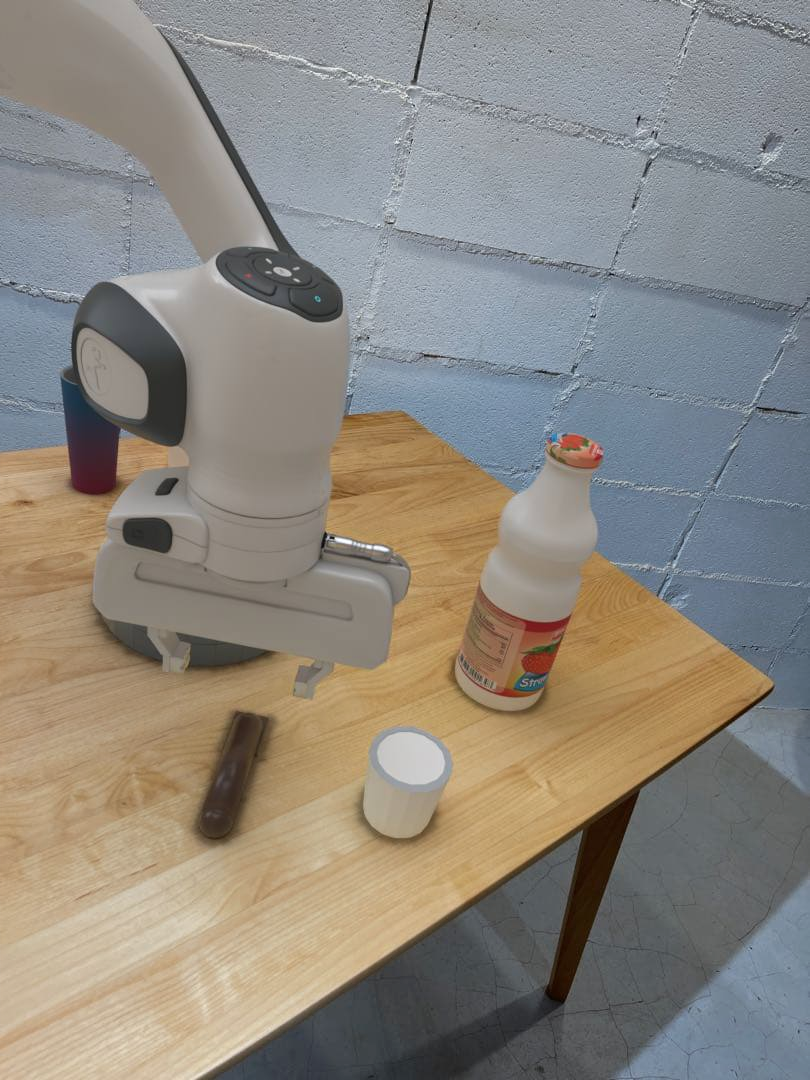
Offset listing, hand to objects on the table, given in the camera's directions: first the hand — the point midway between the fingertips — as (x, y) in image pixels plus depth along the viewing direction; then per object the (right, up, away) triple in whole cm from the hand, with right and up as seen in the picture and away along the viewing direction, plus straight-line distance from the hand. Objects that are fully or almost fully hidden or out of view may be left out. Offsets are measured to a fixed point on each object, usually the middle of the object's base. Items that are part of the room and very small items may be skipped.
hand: (240, 680), depth 59 cm
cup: (-27, +17, +42) cm, 53 cm away
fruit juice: (+21, -5, +26) cm, 34 cm away
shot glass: (+11, -13, +10) cm, 20 cm away
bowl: (-10, +3, +27) cm, 29 cm away
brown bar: (-3, -10, +9) cm, 14 cm away
